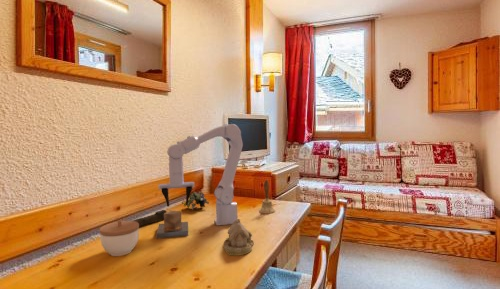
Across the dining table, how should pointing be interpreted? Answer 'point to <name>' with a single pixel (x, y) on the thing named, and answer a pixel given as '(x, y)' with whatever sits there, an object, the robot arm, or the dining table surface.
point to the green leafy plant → (197, 198)
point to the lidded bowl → (119, 237)
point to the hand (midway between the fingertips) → (177, 205)
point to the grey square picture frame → (172, 231)
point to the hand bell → (267, 201)
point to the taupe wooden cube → (172, 219)
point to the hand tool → (151, 218)
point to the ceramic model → (238, 240)
